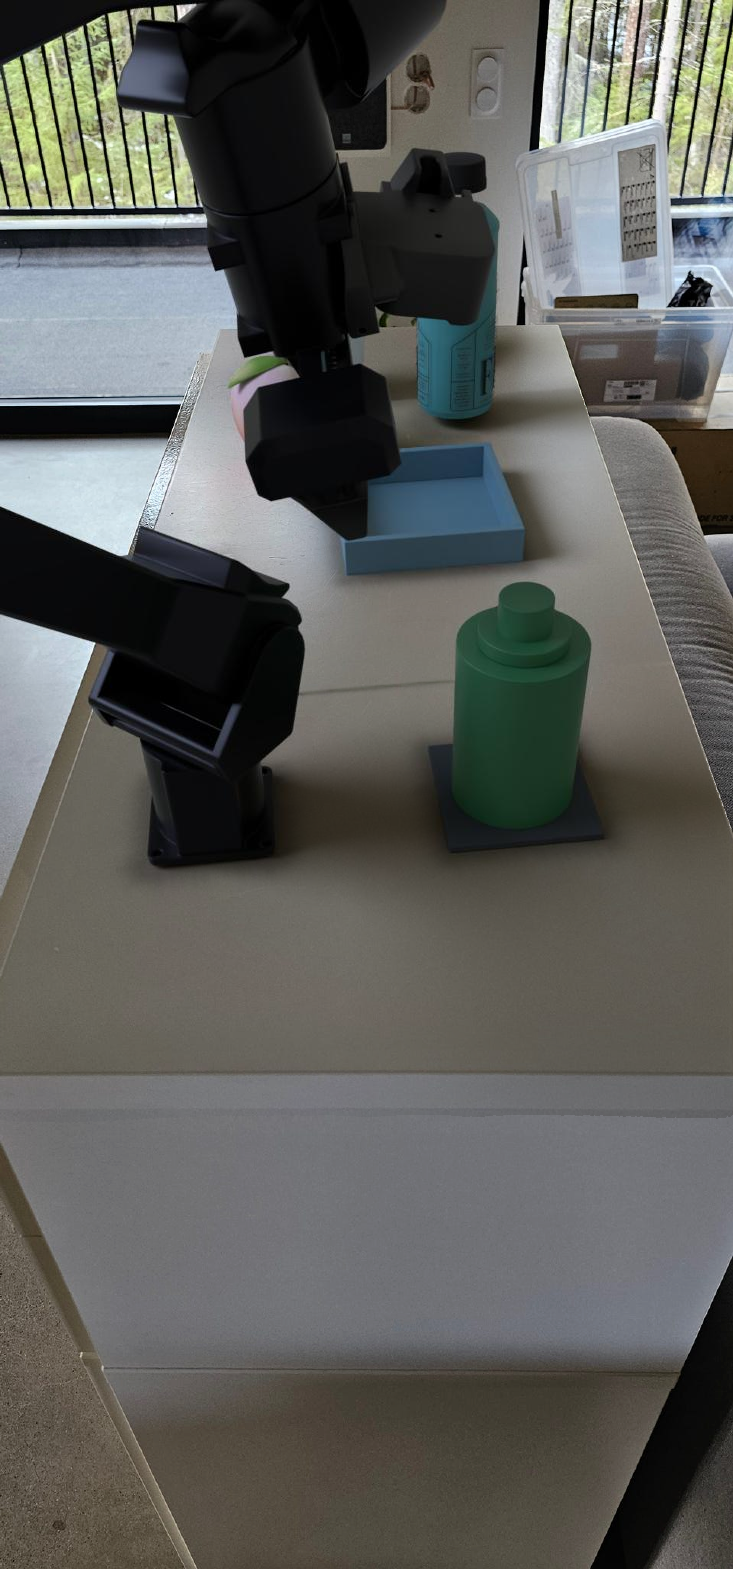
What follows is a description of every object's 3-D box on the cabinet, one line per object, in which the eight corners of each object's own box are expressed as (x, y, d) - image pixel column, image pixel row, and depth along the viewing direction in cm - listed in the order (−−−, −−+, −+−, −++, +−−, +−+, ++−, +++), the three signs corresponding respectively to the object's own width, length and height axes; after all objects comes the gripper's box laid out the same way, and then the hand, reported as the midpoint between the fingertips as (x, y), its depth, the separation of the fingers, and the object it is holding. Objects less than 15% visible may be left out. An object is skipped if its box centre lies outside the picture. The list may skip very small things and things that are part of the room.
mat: (604, 838, 56) (605, 833, 56) (449, 853, 56) (449, 847, 56) (568, 738, 62) (569, 733, 62) (428, 750, 62) (428, 745, 61)
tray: (522, 566, 76) (525, 528, 74) (346, 580, 75) (344, 542, 73) (488, 477, 85) (490, 441, 83) (332, 488, 85) (330, 453, 83)
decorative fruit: (315, 431, 92) (307, 309, 85) (369, 467, 87) (365, 340, 80) (216, 462, 89) (199, 337, 82) (265, 502, 83) (252, 371, 77)
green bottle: (500, 847, 55) (514, 653, 47) (428, 776, 60) (430, 587, 51) (597, 798, 58) (626, 606, 50) (521, 733, 62) (537, 546, 54)
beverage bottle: (488, 440, 90) (501, 168, 77) (408, 435, 91) (407, 166, 78) (497, 406, 95) (511, 145, 81) (421, 402, 96) (422, 143, 82)
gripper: (504, 256, 38) (536, 572, 51) (436, 20, 48) (477, 332, 61) (193, 331, 39) (301, 620, 52) (193, 85, 49) (283, 377, 62)
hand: (349, 475), depth 57 cm, fingers open, 9 cm apart
